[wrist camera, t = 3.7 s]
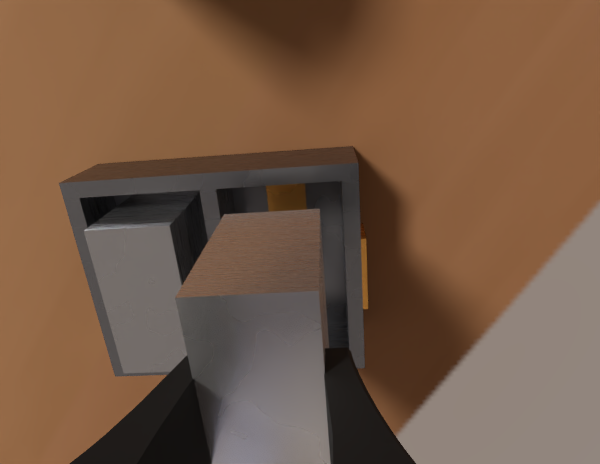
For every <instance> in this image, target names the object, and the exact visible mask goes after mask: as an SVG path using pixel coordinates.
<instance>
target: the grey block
mask: <svg viewBox="0 0 600 464" xmlns="http://www.w3.org/2000/svg"><path fill="white" fill-rule="evenodd" d="M175 300H176V305H177V309H178V314H179V319H180V323H181V328H182V332H183V337H184V342H185V346H186V351H187V355H188V360H189V365H190V369H191V374H192V378H193V379H194V384H195V389H196V393H197V398H198V402H199V407H200V412H201V416H202V421H203V425H204V430H205V434H206V439H207V444H208V448H209V453H210V457H211V462H212V464H331V462H330V449H329V436H328V422H327V408H326V395H325V381H324V374H325V348H329V338H328V323H327V308H326V293H325V278H324V263H323V248H322V233H321V218H320V209H305V210H289V211H272V212H256V213H239V214H224V216H223V217H222V219H221V221H220V222H219V224H218V226H217V227H216V229H215V231H214V232H213V234H212V236H211V238H210V239H209V241H208V243H207V244H206V246H205V248H204V249H203V251H202V253H201V254H200V256H199V258H198V260H197V261H196V263H195V265H194V266H193V268H192V270H191V271H190V273H189V275H188V276H187V278H186V280H185V282H184V283H183V285H182V287H181V288H180V290H179V292H178V293H177V295H176V297H175Z"/></svg>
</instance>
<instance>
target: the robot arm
mask: <svg viewBox="0 0 600 464" xmlns="http://www.w3.org/2000/svg"><path fill="white" fill-rule="evenodd" d="M324 381H325V395H326V408H327V422H328V436H329V449H330V462H331V464H416V463H415V462H414V461H413V459H412V458H411V457H410V455H409V454H408V453H407V452H406V450H405V449H404V448H403V446H402V445H401V444H400V442H399V441H398V439H397V438H396V436H395V435H394V434H393V432H392V431H391V429H390V427H389V426H388V424H387V423H386V421H385V420H384V418H383V417H382V415H381V414H380V412H379V410H378V409H377V407H376V405H375V403H374V402H373V400H372V398H371V396H370V394H369V393H368V391H367V389H366V387H365V385H364V383H363V381H362V379H361V377H360V375H359V373H358V370H357V368H356V365H355V363H354V360H353V357H352V353H351V351H350V350H349V349H348V348H347V347H345V348H325V374H324ZM70 464H212V462H211V457H210V453H209V448H208V444H207V439H206V434H205V430H204V425H203V421H202V416H201V412H200V407H199V402H198V398H197V393H196V389H195V384H194V379H193V378H192V374H191V369H190V365H189V360H188V355H187V356H186V357H185V358H184V359H183V360H182V361H181V362H180V363H179V364H178V365H177V366H176V367H175V368H174V369H173V370H172V371H171V372H170V373H169V374H168V375H167V376H166V377H165V378H164V379H163V380H162V381H161V382H160V383H159V384H158V385H157V386H156V387H155V388H154V389H153V390H152V391H151V392H150V393H149V394H148V395H147V396H146V397H145V398H144V399H143V400H142V401H141V402H140V403H139V404H138V405H137V406H136V407H135V408H134V409H133V410H132V411H131V412H130V413H129V414H128V415H126V416H125V417H124V418H123V419H122V420H121V421H120V422H119V423H118V424H117V425H115V426H114V427H113V428H112V429H111V430H110V431H109V432H108V433H107V434H106V435H104V436H103V437H102V438H101V439H100V440H99V441H97V442H96V443H95V444H94V445H93V446H91V447H90V448H89V449H88V450H86V451H85V452H84V453H83V454H81V455H80V456H79V457H78V458H76V459H75V460H74V461H72V462H71V463H70Z"/></svg>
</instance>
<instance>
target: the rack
mask: <svg viewBox="0 0 600 464" xmlns="http://www.w3.org/2000/svg"><path fill="white" fill-rule="evenodd" d="M59 185H60V188H61V192H62V195H63V199H64V202H65V205H66V209H67V212H68V216H69V219H70V223H71V226H72V229H73V233H74V236H75V240H76V243H77V247H78V250H79V254H80V257H81V260H82V264H83V267H84V271H85V274H86V278H87V281H88V285H89V288H90V291H91V295H92V298H93V302H94V305H95V309H96V312H97V315H98V319H99V322H100V326H101V329H102V333H103V336H104V340H105V343H106V346H107V350H108V353H109V357H110V360H111V364H112V367H113V370H114V374H115V376H142V375H168V374H169V373H170V372H171V371H172V370H173V369H174V368H175V367H176V366H177V365H178V364H179V363H180V362H181V361H182V360H183V359H184V358H185V357H186V356H187V351H186V346H185V342H184V337H183V332H182V328H181V323H180V319H179V314H178V309H177V305H176V300H175V297H176V295H177V293H178V292H179V290H180V288H181V287H182V285H183V283H184V282H185V280H186V278H187V276H188V275H189V273H190V271H191V270H192V268H193V266H194V265H195V263H196V261H197V260H198V258H199V256H200V254H201V253H202V251H203V249H204V248H205V246H206V244H207V243H208V241H209V239H210V238H211V236H212V234H213V232H214V231H215V229H216V227H217V226H218V224H219V222H220V221H221V219H222V217H223V216H224V214H239V213H256V212H272V211H289V210H305V209H320V218H321V233H322V248H323V263H324V278H325V293H326V308H327V323H328V338H329V348H345V347H347V348H348V349H349V350H350V351H351V353H352V357H353V360H354V363H355V365H356V368H365V357H364V325H363V309H368V285H367V247H366V235H365V231H364V227H363V223H360V197H359V165H358V160H357V157H356V154H355V151H354V148H353V146H349V147H335V148H321V149H306V150H292V151H278V152H264V153H250V154H235V155H221V156H207V157H193V158H179V159H164V160H150V161H136V162H122V163H108V164H97V165H95V166H93V167H91V168H89V169H87V170H85V171H83V172H81V173H79V174H77V175H75V176H73V177H71V178H69V179H66V180H64V181H62V182H60V183H59Z"/></svg>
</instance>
